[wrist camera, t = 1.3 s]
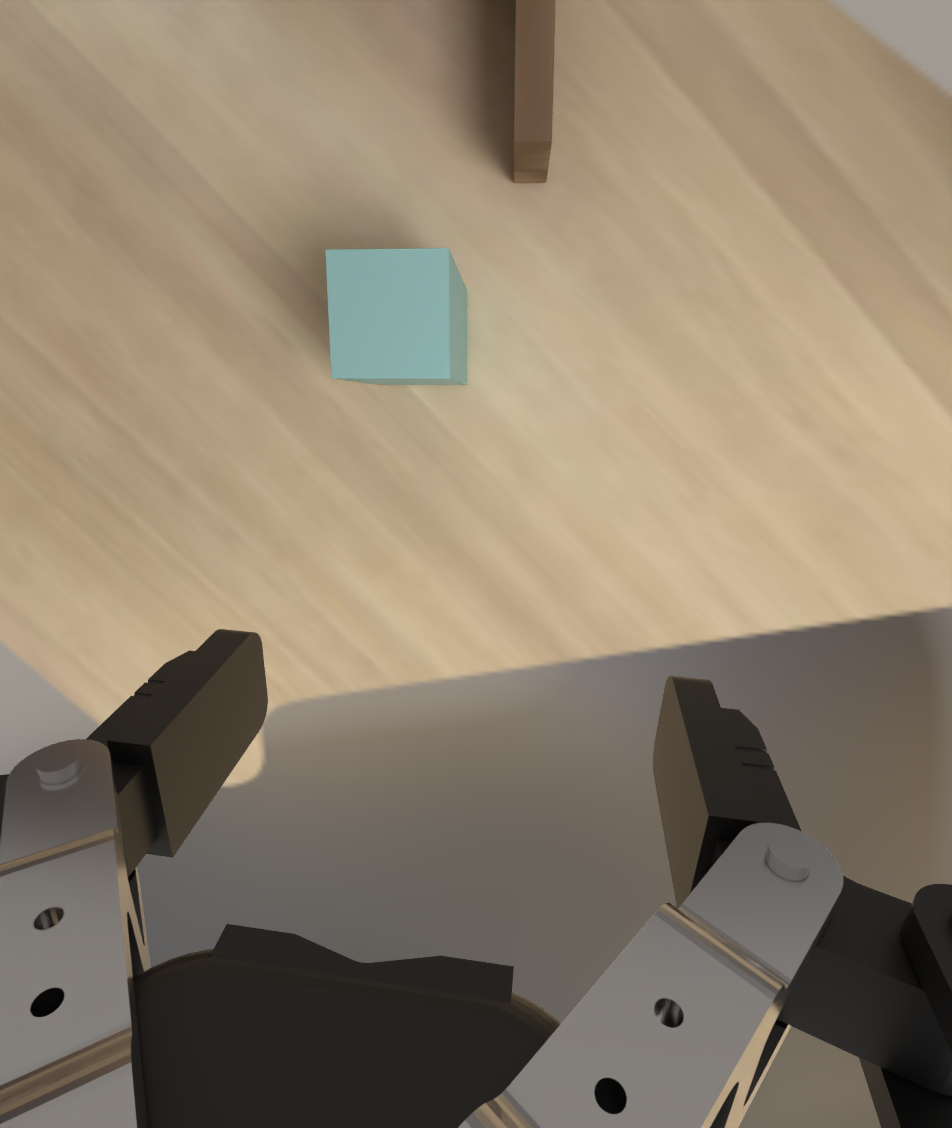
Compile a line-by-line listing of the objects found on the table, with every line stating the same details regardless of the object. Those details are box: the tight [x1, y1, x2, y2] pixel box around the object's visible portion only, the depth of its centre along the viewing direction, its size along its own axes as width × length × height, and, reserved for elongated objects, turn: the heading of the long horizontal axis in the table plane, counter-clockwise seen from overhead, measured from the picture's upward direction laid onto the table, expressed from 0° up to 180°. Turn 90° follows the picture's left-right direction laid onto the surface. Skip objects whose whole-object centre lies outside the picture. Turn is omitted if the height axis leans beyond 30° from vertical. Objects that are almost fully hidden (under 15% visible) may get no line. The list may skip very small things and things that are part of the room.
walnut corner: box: [514, 0, 555, 183], centre depth 28 cm, size 14×10×5 cm
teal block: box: [325, 248, 467, 385], centre depth 29 cm, size 4×4×9 cm
